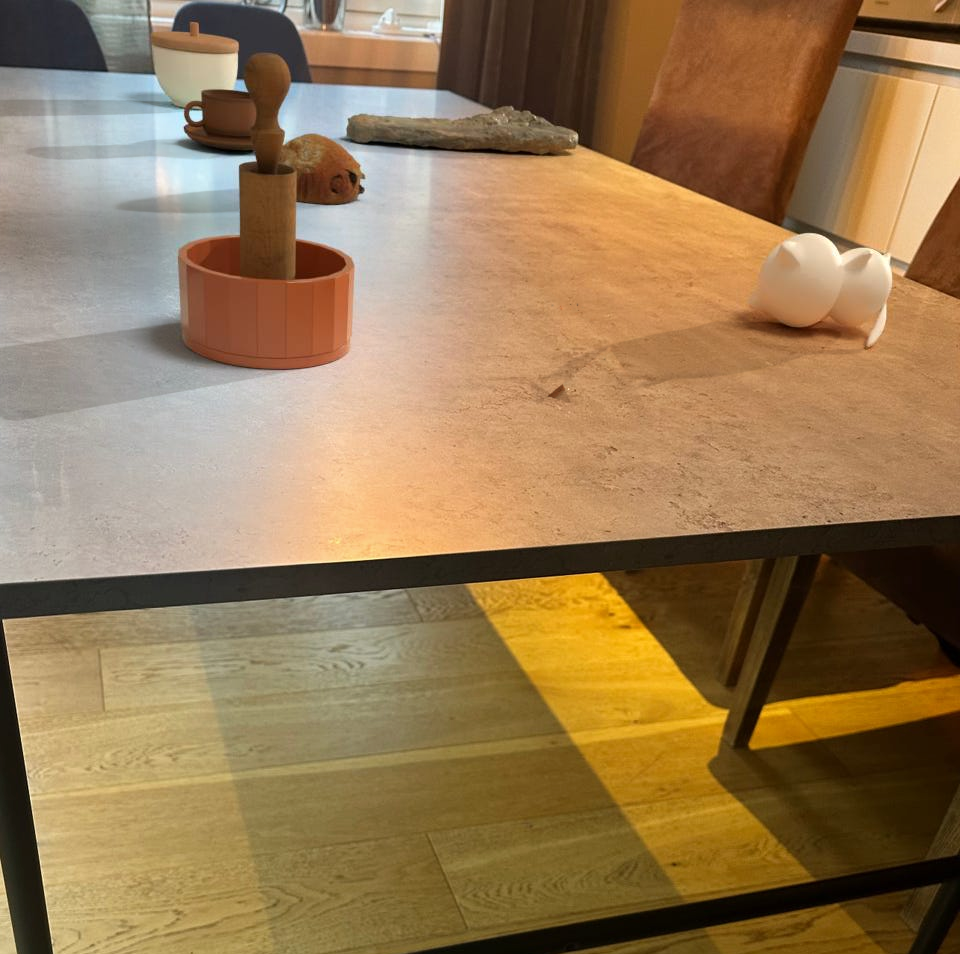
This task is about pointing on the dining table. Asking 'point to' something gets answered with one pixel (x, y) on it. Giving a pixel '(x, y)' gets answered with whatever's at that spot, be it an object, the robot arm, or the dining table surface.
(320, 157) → the bread roll
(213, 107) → the cup and saucer
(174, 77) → the lidded bowl
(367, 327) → the dining table surface
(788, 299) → the cat figurine
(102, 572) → the dining table surface
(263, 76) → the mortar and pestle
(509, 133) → the long grey stone
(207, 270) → the crock
